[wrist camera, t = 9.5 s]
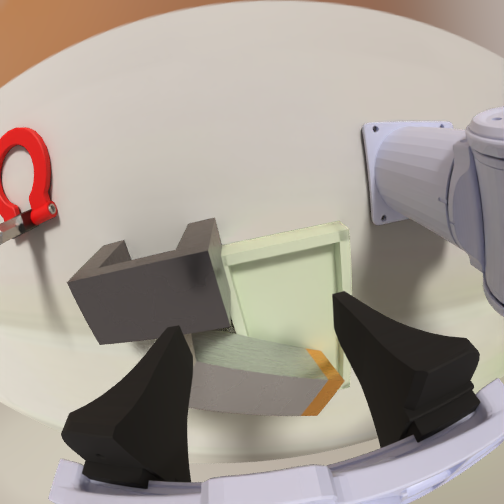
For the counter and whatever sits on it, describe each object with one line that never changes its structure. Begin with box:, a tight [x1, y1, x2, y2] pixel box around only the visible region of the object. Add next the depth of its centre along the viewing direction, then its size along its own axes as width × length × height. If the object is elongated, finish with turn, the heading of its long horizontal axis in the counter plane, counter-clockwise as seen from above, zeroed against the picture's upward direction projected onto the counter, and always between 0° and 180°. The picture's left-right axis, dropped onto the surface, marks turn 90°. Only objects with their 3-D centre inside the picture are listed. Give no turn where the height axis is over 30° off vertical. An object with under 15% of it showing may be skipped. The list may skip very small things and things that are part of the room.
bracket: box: [67, 218, 231, 345], centre depth 18 cm, size 9×5×6 cm, turn 101°
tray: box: [221, 221, 352, 391], centre depth 23 cm, size 10×18×2 cm, turn 11°
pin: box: [184, 329, 345, 416], centre depth 21 cm, size 4×13×4 cm, turn 64°
